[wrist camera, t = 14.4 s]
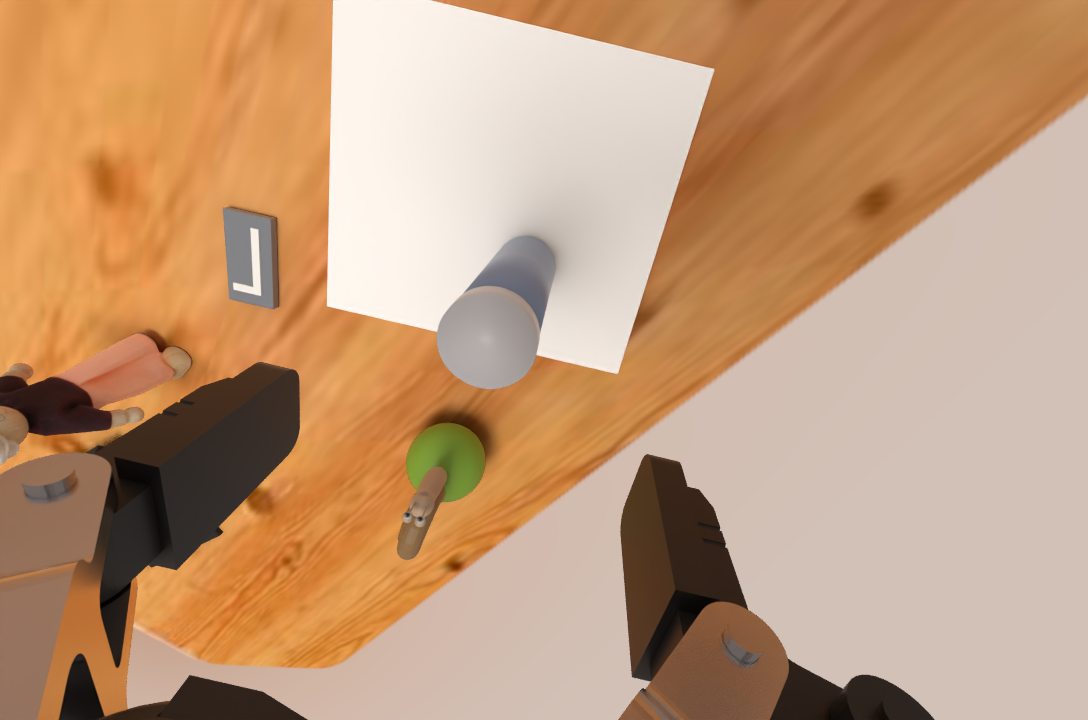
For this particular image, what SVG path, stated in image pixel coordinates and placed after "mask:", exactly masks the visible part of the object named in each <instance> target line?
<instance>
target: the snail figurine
mask: <svg viewBox="0 0 1088 720" xmlns="http://www.w3.org/2000/svg"><path fill="white" fill-rule="evenodd" d="M485 461H486V460H485V452H484V448H483V446H482V444H481V442H480V440H479V439H478V437H477V436H476V435H475V434H474V433H473V432H472V431H471V430H469V429H468V428H466V427H464V426H462V425H459V424H455V423H440V424H436V425H433V426H431V427H429V428H427V429H425V430H424V431H422V432H421V433H420V434H419V435H418V436H417V437H416V438H415V439H414V441H413V442H412V444H411V446H410V448H409V451H408V454H407V459H406V469H407V474H408V477H409V480H410V482H411V484H412V485H413V487H414V488H415V489H416V490H417V493H416V494H415V495H414V496H413V497H412V499H411V501H410V506H409V508H408V510H407V512H405V513H404V514H403V515H402V520H403V523H402V526H401V529H400V532H399V536H398V541H399V542H398V546H397V552H398V555H399V556H400V557H401V558H402V559H405V560H410V559H412V558H414V557H415V556H416V555H417V554H418V552H419V550H420V548H421V545H422V543H423V540H424V538H425V536H426V533H427V531H428V529H429V526H430V524H431V522H432V520H433V517H434V515H435V513H436V511H437V509H438V506H439V504H440V503H441V502H452V501H456V500H459V499H461V498H463V497H465V496H466V495H468V494H469V493H470V492H472V491H473V490H474V489H475V488H476V486H477V485H478V484H479V482H480V480H481V478H482V476H483V473H484V470H485Z"/></svg>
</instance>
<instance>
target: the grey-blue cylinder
mask: <svg viewBox="0 0 1088 720" xmlns="http://www.w3.org/2000/svg"><path fill="white" fill-rule="evenodd" d="M555 270H556V265H555V259H554V256H553V254H552V252H551V250H550V249H549V247H548V246H547V245H546V244H545V243H543V242H542V241H541V240H539V239H537V238H534V237H530V236H519V237H516V238H513V239H511V240H509V241H508V242H506V243H505V244H504V245H503V246H502V248H501V249H500V250H499V251H498V252H497V254H496V255H495V256H494V257H493V258H492V260H491V261H490V262H489V263H488V264H487V265H486V267H485V268H484V269H483V270H482V271H481V273H480V274H479V275H478V276H477V277H476V279H475V280H474V281H473V282H472V283H471V285H470V286H469V287H468V288H467V289H466V291H465V292H464V293H463V294H462V295H461V296H459V297H458V298H457V299H456V300H455V302H454V303H453V304H452V305H451V306H450V307H449V309H448V310H447V311H446V312H445V314H444V315H443V317H442V319H441V320H440V323H439V326H438V330H437V347H438V351H439V354H440V356H441V358H442V360H443V362H444V364H445V365H446V367H447V368H448V369H449V370H450V371H451V373H453V374H454V375H455V376H456V377H457V378H459V379H460V380H461V381H463V382H465V383H467V384H469V385H472V386H475V387H478V388H484V389H499V388H504V387H507V386H510V385H512V384H514V383H516V382H517V381H519V380H520V379H522V378H523V377H524V376H525V375H526V374H527V373H528V371H529V370H530V368H531V367H532V365H533V363H534V360H535V357H536V353H537V349H538V345H539V340H540V332H541V328H542V323H543V319H544V315H545V311H546V307H547V303H548V299H549V295H550V291H551V287H552V283H553V279H554V275H555Z"/></svg>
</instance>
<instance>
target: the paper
mask: <svg viewBox="0 0 1088 720" xmlns="http://www.w3.org/2000/svg"><path fill="white" fill-rule="evenodd" d="M714 70H715V69H712V68H707V67H703V66H699V65H695V64H691V63H687V62H683V61H679V60H675V59H670V58H666V57H662V56H658V55H654V54H650V53H646V52H642V51H637V50H633V49H629V48H625V47H621V46H617V45H613V44H609V43H605V42H600V41H596V40H592V39H588V38H584V37H580V36H576V35H572V34H567V33H563V32H559V31H555V30H551V29H547V28H543V27H539V26H535V25H530V24H526V23H522V22H518V21H514V20H510V19H506V18H502V17H498V16H493V15H489V14H485V13H481V12H477V11H473V10H469V9H465V8H460V7H456V6H452V5H448V4H444V3H440V2H436V1H432V0H333V39H332V88H331V137H330V186H329V235H328V284H327V306H329V307H333V308H337V309H342V310H346V311H350V312H354V313H359V314H363V315H367V316H372V317H376V318H380V319H384V320H389V321H393V322H397V323H402V324H406V325H410V326H414V327H419V328H423V329H427V330H431V331H436V332H437V330H438V326H439V323H440V320H441V319H442V317H443V315H444V314H445V312H446V311H447V310H448V309H449V307H450V306H451V305H452V304H453V303H454V302H455V300H456V299H457V298H458V297H459V296H461V295H462V294H463V293H464V292H465V291H466V289H467V288H468V287H469V286H470V285H471V283H472V282H473V281H474V280H475V279H476V277H477V276H478V275H479V274H480V273H481V271H482V270H483V269H484V268H485V267H486V265H487V264H488V263H489V262H490V261H491V260H492V258H493V257H494V256H495V255H496V254H497V252H498V251H499V250H500V249H501V248H502V246H503V245H504V244H505V243H506V242H508V241H509V240H511V239H513V238H516V237H519V236H530V237H534V238H537V239H539V240H541V241H542V242H543V243H545V244H546V245H547V246H548V247H549V249H550V250H551V252H552V254H553V256H554V259H555V265H556V270H555V275H554V279H553V283H552V287H551V291H550V295H549V299H548V303H547V307H546V311H545V315H544V319H543V323H542V328H541V332H540V340H539V345H538V349H537V353H536V355H538V356H543V357H547V358H551V359H556V360H560V361H564V362H568V363H573V364H577V365H581V366H586V367H590V368H594V369H598V370H603V371H607V372H611V373H615V374H618V371H619V368H620V365H621V362H622V359H623V355H624V352H625V349H626V346H627V343H628V340H629V337H630V333H631V330H632V327H633V324H634V321H635V318H636V315H637V311H638V308H639V305H640V302H641V299H642V296H643V293H644V290H645V286H646V283H647V280H648V277H649V274H650V271H651V268H652V264H653V261H654V258H655V255H656V252H657V249H658V246H659V242H660V239H661V236H662V233H663V230H664V227H665V224H666V220H667V217H668V214H669V211H670V208H671V205H672V202H673V198H674V195H675V192H676V189H677V186H678V183H679V180H680V176H681V173H682V170H683V167H684V164H685V161H686V158H687V154H688V151H689V148H690V145H691V142H692V139H693V136H694V132H695V129H696V126H697V123H698V120H699V117H700V114H701V110H702V107H703V104H704V101H705V98H706V95H707V92H708V88H709V85H710V82H711V79H712V76H713V73H714Z"/></svg>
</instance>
